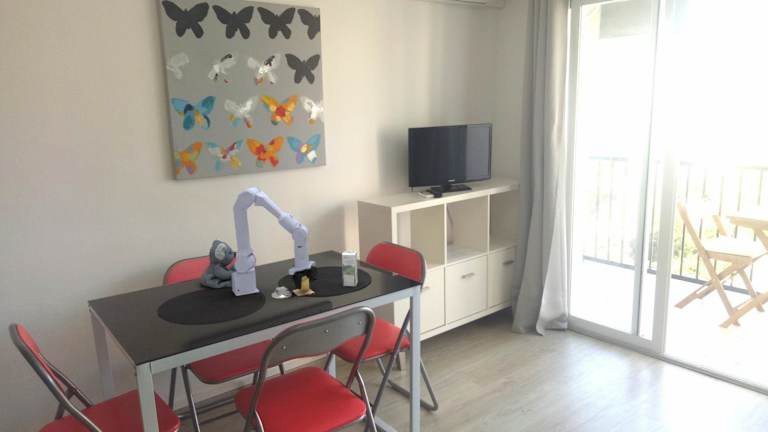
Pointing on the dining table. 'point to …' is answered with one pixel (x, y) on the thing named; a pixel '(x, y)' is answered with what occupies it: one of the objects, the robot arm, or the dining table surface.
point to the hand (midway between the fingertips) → (303, 286)
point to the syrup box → (349, 268)
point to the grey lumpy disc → (281, 293)
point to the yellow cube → (305, 283)
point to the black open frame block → (313, 272)
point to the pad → (303, 292)
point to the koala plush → (219, 266)
